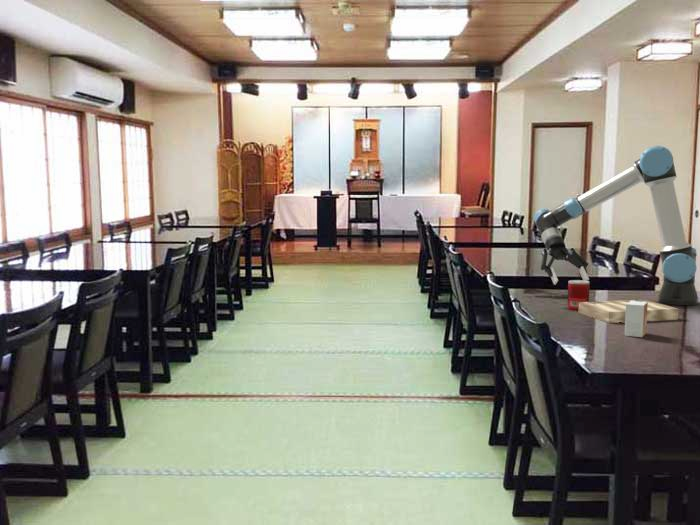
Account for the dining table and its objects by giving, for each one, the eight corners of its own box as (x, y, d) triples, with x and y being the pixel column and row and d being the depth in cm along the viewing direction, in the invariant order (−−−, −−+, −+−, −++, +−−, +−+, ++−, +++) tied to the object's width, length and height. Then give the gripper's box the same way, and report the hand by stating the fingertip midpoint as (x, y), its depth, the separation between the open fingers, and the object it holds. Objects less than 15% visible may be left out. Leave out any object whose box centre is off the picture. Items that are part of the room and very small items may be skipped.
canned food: (591, 310, 263) (592, 282, 262) (570, 310, 263) (571, 282, 262) (585, 307, 271) (586, 280, 270) (564, 307, 271) (565, 280, 270)
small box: (642, 337, 217) (644, 305, 216) (624, 335, 220) (625, 303, 219) (646, 333, 224) (648, 301, 223) (628, 331, 227) (630, 300, 226)
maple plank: (643, 309, 265) (643, 299, 265) (678, 319, 246) (678, 308, 246) (578, 312, 260) (578, 302, 259) (608, 323, 240) (609, 311, 240)
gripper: (576, 246, 289) (595, 286, 276) (522, 247, 283) (539, 288, 270) (584, 234, 283) (603, 275, 270) (529, 236, 277) (546, 277, 265)
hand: (571, 281), depth 270 cm, fingers open, 13 cm apart
